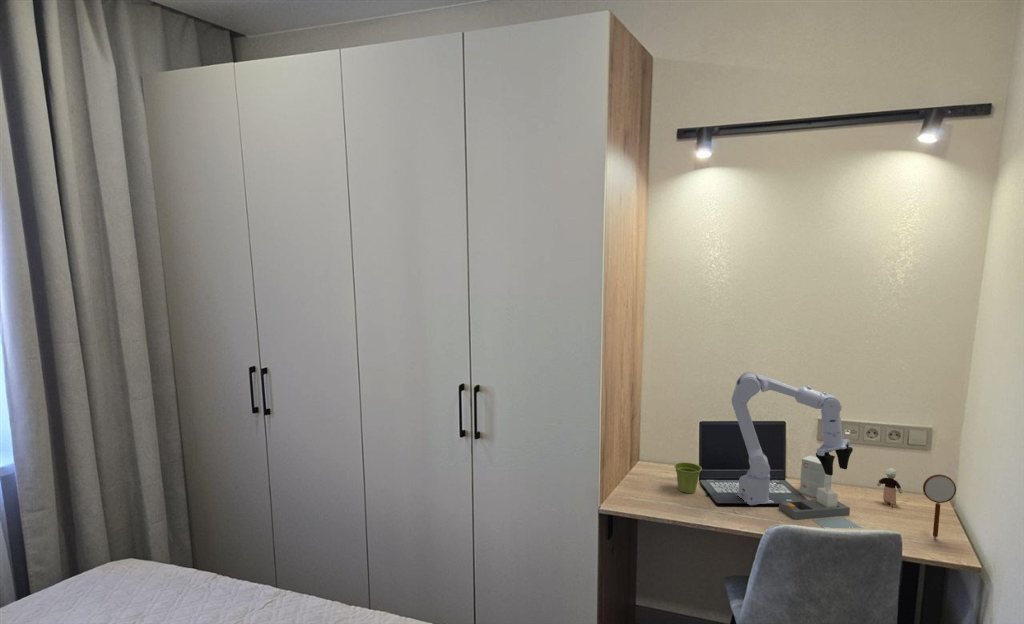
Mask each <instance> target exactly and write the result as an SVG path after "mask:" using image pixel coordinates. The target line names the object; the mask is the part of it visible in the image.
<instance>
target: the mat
mask: <svg viewBox="0 0 1024 624" xmlns="http://www.w3.org/2000/svg"><path fill="white" fill-rule="evenodd" d="M811 521H812V522H813V523H815V524H817V525H819V526H820V527H821V528H823V527H830V528H849V527H850V528H852V527H853V528H863V527H862V526H861V525H858V524H857V523H855V522H853V521H852V520H849V519H848V518H846V517H844V516H838V517H827V518H819V519H818V518H816V519H812V520H811Z"/></svg>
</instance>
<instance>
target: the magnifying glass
mask: <svg viewBox="0 0 1024 624" xmlns="http://www.w3.org/2000/svg"><path fill="white" fill-rule="evenodd" d="M922 491H923V495H924V496H925V497H926V498H927V499H928V500H929V501H931V502H932V503H935V505H934V506H935V507H934V508H935V509H934V518H933V527H932V529H933V530H932V536H933V539H934V538H935V539H934V540H936V539H937V537H938V536H939V526H940V525H939V524H940V516H941V515H940V514H941V513H940V512H941V504H942V503H943V504H944V503H947V502H950V501H951V500H952V499H953V498H954V497H955V496H956V492H957V486H956V484H955V481H954V480H953V479H952V478H950V477H949V476H947V475H944V474H933V475H931V476H929V477H927V478H926V480H925V481H924V482H923V485H922Z"/></svg>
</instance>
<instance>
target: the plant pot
mask: <svg viewBox="0 0 1024 624" xmlns="http://www.w3.org/2000/svg"><path fill="white" fill-rule="evenodd" d="M674 468H675V471H676V479H677V480H676V481H677V489H678V491H680V492H681V493H686V494H694V493H695V492H696V491H697V488H698V487H697V486H698V482H699V476H700V475H701V472H702V470H703V468H702V466H701V465H699V464H696V463H692V462H677V463H675V464H674Z"/></svg>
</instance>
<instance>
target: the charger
mask: <svg viewBox="0 0 1024 624" xmlns="http://www.w3.org/2000/svg"><path fill="white" fill-rule="evenodd" d="M829 488H830V487H828V486H826V487H823V488H817V498H816V499H817V502H819V503H820V504H822V505H824V506H825V507H827V508H835V507H837V501H838V499H839V497H838V495H839V493H838V492H836V491H835V490H833V489H832V488H831V489H829Z"/></svg>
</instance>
